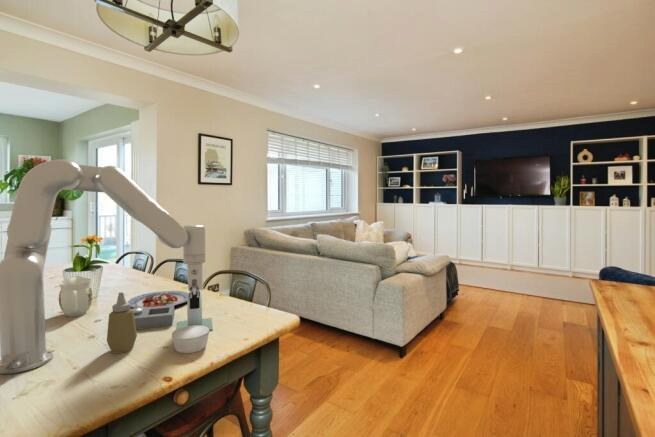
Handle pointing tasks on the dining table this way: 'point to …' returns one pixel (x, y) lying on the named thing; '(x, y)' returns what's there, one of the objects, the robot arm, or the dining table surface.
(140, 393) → the dining table surface
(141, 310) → the plunger
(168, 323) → the housing
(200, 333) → the ramekin
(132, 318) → the squeeze bottle
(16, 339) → the robot arm
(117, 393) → the dining table surface
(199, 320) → the cylinder
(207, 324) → the mat
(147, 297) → the ceramic plate
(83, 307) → the pitcher
